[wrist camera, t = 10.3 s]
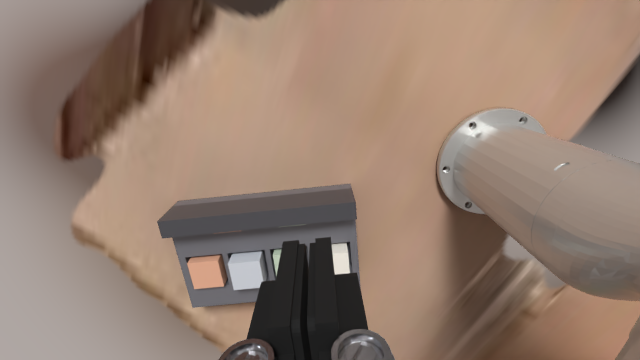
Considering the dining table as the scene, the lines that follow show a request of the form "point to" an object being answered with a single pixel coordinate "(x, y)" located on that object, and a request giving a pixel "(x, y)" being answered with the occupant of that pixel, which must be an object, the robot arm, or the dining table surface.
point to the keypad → (258, 231)
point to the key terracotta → (207, 271)
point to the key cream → (340, 258)
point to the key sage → (276, 258)
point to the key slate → (247, 269)
